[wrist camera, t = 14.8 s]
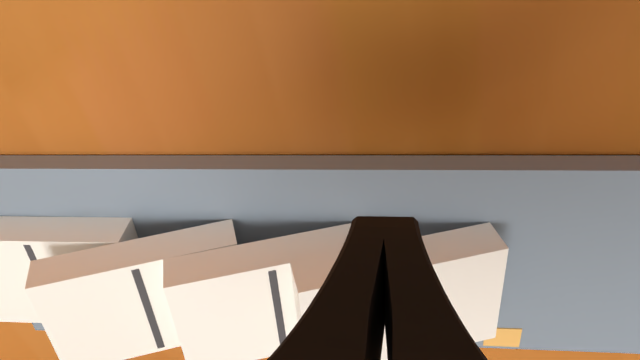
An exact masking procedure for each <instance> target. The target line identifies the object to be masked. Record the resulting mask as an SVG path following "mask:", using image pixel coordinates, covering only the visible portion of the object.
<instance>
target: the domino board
mask: <svg viewBox="0 0 640 360" xmlns="http://www.w3.org/2000/svg"><path fill="white" fill-rule="evenodd" d="M0 216H29V217H125V218H132V220H133V223H134V226H135V229H136V232H137V236H138V238H143V237H148V236H153V235H157V234H162V233H167V232H172V231H177V230H181V229H186V228H191V227H196V226H200V225H205V224H210V223H215V222H220V221H224V220H229V219H232V222H233V227H234V231H235V236H236V241H237V245H240V244H245V243H250V242H255V241H261V240H266V239H271V238H276V237H281V236H287V235H292V234H297V233H302V232H307V231H313V230H318V229H323V228H328V227H333V226H339V225H344V224H349V223H352V220H353V219H354V218H356V217H357V216H387V217H414V218H415V219H416V220H417V221H418V223H419V229H420V233H421V236H425V235H430V234H434V233H439V232H444V231H449V230H454V229H459V228H464V227H469V226H474V225H478V224H483V223H488V222H490V223H491V225H492V226H493V227H494V229H495V230H496V232H497V233H498V234H499V236H500V237H501V238H502V240H503V241H504V243H505V244H506V245H507V247H508V248H509V250H508V257H507V264H506V270H505V277H504V284H503V290H502V297H501V304H500V310H499V317H498V324H497V330H496V337H495V338H492V339H487V340H483V341H479V342H475V343H476V344H477V346H478V347H482V348H507V349H533V350H558V351H584V352H610V353H635V354H640V155H0ZM32 324H33V326H34V328H35V330H45V329H44V327H43V325H42V323H32Z"/></svg>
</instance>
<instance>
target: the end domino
mask: <svg viewBox="0 0 640 360" xmlns="http://www.w3.org/2000/svg"><path fill="white" fill-rule="evenodd" d="M133 239H138V236H137V232H136V229H135V226H134V223H133V220H132V218H125V217H29V216H0V322H29V323H41V321H40V319H39V317H38V315H37V313H36V311H35V309H34V307H33V305H32V303H31V301H30V299H29V297H28V295H27V293H26V291H25V285H26V281H27V276H28V271H29V266H30V261H33V260H38V259H42V258H47V257H52V256H57V255H62V254H66V253H71V252H76V251H81V250H85V249H90V248H95V247H100V246H105V245H109V244H114V243H119V242H124V241H129V240H133Z"/></svg>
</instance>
